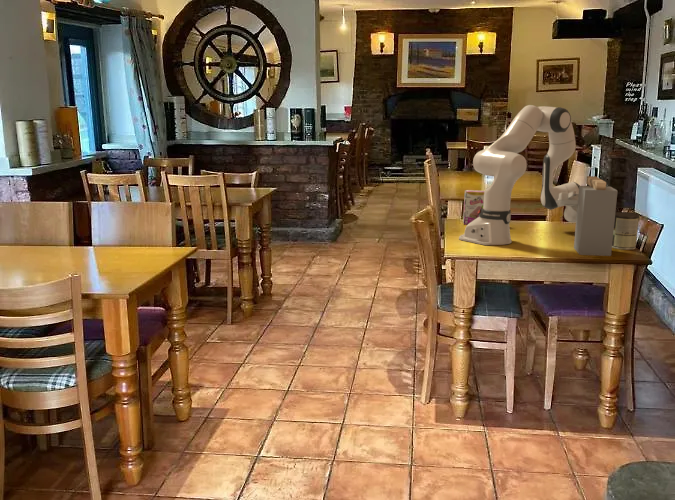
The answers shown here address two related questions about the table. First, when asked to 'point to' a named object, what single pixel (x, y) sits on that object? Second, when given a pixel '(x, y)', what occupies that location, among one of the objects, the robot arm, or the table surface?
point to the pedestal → (595, 221)
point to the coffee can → (625, 230)
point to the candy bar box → (472, 205)
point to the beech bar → (596, 183)
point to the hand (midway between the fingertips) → (586, 192)
